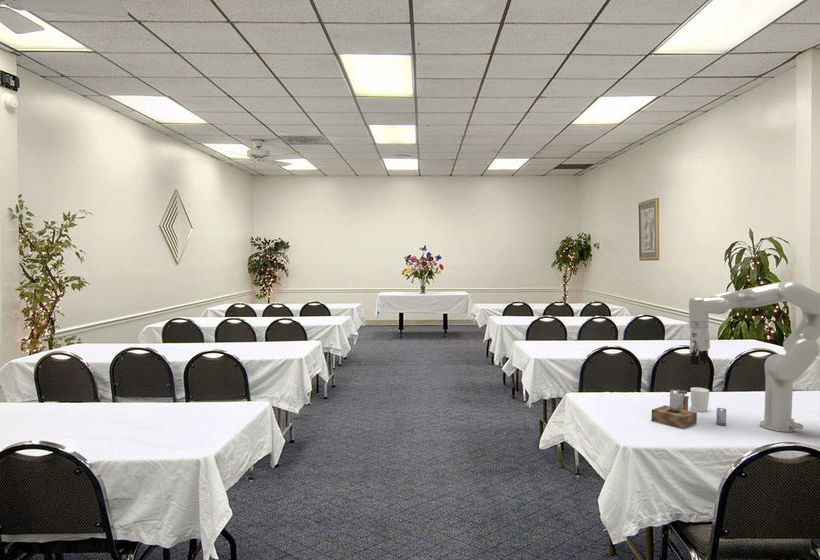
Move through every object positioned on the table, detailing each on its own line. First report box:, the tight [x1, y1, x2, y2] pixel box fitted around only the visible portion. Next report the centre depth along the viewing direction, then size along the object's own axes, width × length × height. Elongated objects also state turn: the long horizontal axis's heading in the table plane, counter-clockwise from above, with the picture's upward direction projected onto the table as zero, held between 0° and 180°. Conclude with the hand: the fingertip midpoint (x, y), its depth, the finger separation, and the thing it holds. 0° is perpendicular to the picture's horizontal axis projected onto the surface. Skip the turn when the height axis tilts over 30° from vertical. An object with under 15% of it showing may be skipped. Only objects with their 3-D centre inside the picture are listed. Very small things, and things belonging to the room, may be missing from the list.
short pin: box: [716, 407, 727, 427], centre depth 226 cm, size 4×4×7 cm
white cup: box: [690, 387, 710, 413], centre depth 248 cm, size 8×8×10 cm
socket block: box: [650, 404, 698, 430], centre depth 229 cm, size 14×12×5 cm
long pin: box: [669, 389, 679, 413], centre depth 228 cm, size 4×4×14 cm
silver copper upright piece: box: [676, 389, 690, 411], centre depth 246 cm, size 8×3×10 cm, turn 62°
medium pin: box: [679, 394, 683, 409], centre depth 237 cm, size 4×4×10 cm
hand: (699, 363), depth 231 cm, fingers open, 9 cm apart
